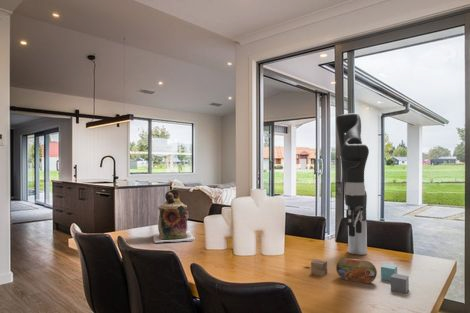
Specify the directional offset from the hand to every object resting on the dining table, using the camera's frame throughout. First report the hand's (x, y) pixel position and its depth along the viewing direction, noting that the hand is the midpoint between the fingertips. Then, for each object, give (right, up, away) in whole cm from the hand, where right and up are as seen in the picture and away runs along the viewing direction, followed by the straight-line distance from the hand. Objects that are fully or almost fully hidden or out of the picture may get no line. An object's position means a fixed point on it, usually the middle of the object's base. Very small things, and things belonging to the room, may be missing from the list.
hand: (355, 234), depth 131 cm
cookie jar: (-87, -21, +76) cm, 118 cm away
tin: (0, -18, -1) cm, 18 cm away
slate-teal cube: (+14, -18, +1) cm, 23 cm away
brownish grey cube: (-12, -18, +8) cm, 24 cm away
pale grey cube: (+12, -18, -11) cm, 24 cm away
